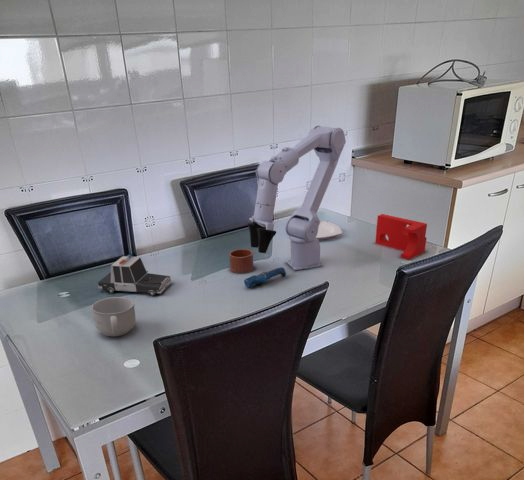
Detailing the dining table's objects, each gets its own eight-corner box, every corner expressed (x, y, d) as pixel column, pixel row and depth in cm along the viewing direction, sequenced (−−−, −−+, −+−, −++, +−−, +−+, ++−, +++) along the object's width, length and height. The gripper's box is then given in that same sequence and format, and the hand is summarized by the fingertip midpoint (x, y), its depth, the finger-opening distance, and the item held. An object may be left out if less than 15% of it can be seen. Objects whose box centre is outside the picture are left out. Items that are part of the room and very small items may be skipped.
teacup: (101, 322, 138) (95, 296, 134) (141, 320, 139) (136, 293, 135) (91, 348, 127) (84, 320, 122) (134, 345, 127) (129, 317, 123)
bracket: (428, 222, 170) (412, 230, 164) (424, 251, 176) (408, 259, 170) (383, 213, 182) (367, 219, 176) (381, 240, 187) (365, 247, 181)
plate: (284, 229, 202) (284, 224, 201) (330, 224, 205) (330, 219, 204) (299, 244, 186) (299, 239, 185) (348, 239, 189) (348, 233, 188)
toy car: (160, 297, 151) (155, 265, 146) (98, 293, 156) (91, 262, 150) (172, 283, 160) (168, 253, 155) (113, 280, 164) (107, 251, 159)
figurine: (280, 276, 163) (243, 290, 156) (277, 265, 162) (240, 279, 155) (289, 276, 159) (251, 291, 152) (286, 264, 158) (248, 279, 151)
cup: (249, 263, 172) (248, 247, 170) (256, 271, 166) (255, 255, 163) (227, 266, 170) (226, 251, 168) (234, 274, 164) (232, 258, 161)
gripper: (245, 199, 153) (239, 243, 158) (260, 206, 140) (253, 254, 145) (266, 202, 156) (259, 245, 160) (283, 209, 143) (275, 256, 148)
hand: (258, 249), depth 153 cm, fingers open, 7 cm apart
